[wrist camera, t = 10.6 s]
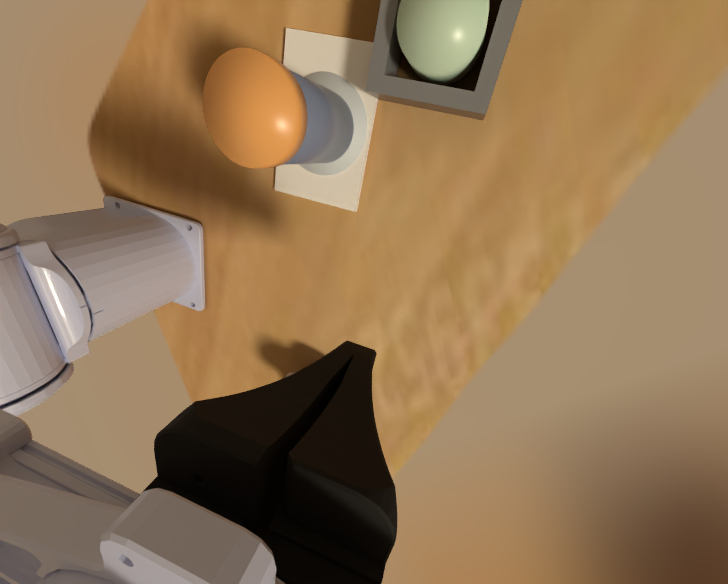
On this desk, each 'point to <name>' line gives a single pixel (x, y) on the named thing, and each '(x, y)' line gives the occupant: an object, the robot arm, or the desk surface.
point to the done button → (442, 37)
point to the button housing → (426, 94)
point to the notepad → (348, 79)
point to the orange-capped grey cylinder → (272, 113)
